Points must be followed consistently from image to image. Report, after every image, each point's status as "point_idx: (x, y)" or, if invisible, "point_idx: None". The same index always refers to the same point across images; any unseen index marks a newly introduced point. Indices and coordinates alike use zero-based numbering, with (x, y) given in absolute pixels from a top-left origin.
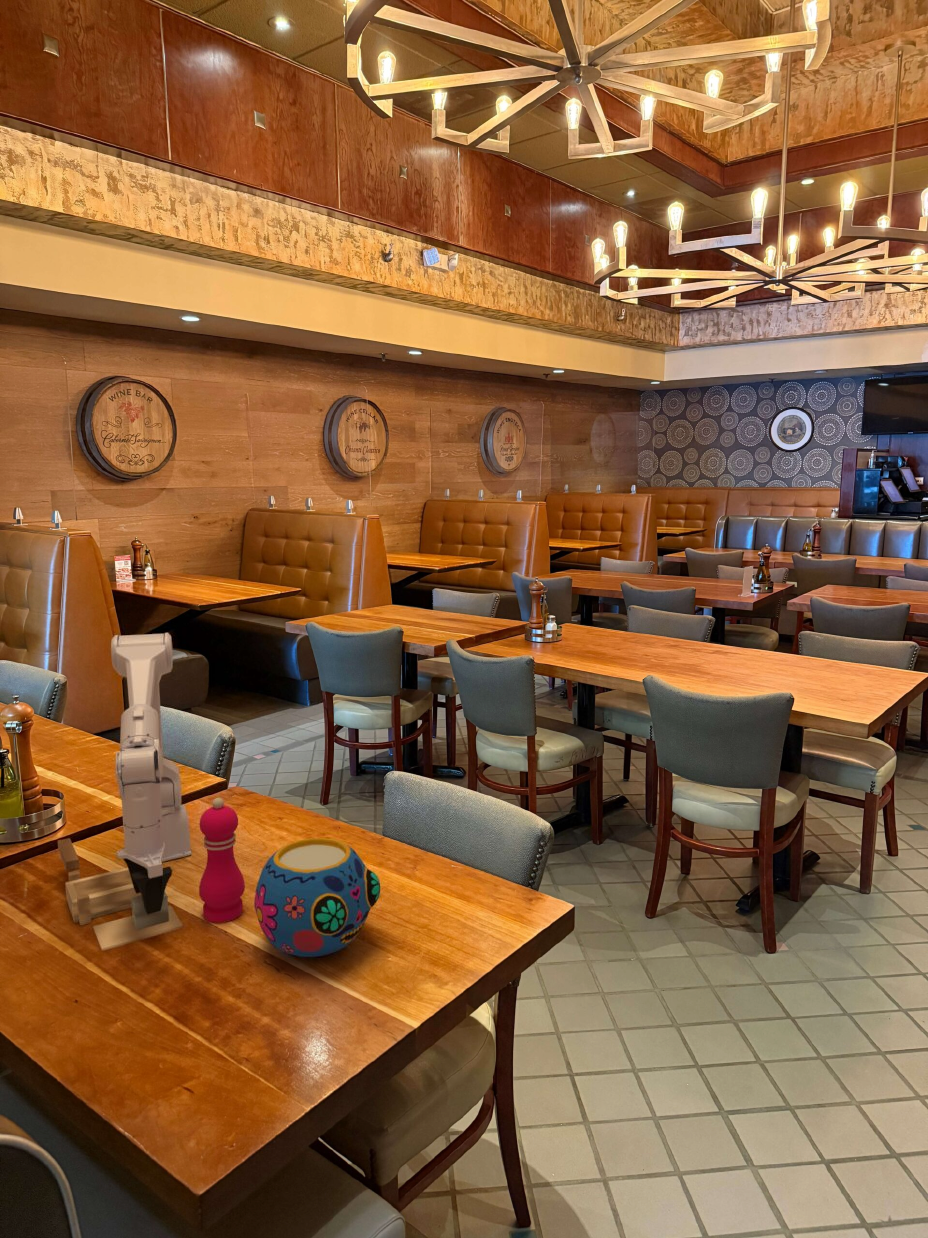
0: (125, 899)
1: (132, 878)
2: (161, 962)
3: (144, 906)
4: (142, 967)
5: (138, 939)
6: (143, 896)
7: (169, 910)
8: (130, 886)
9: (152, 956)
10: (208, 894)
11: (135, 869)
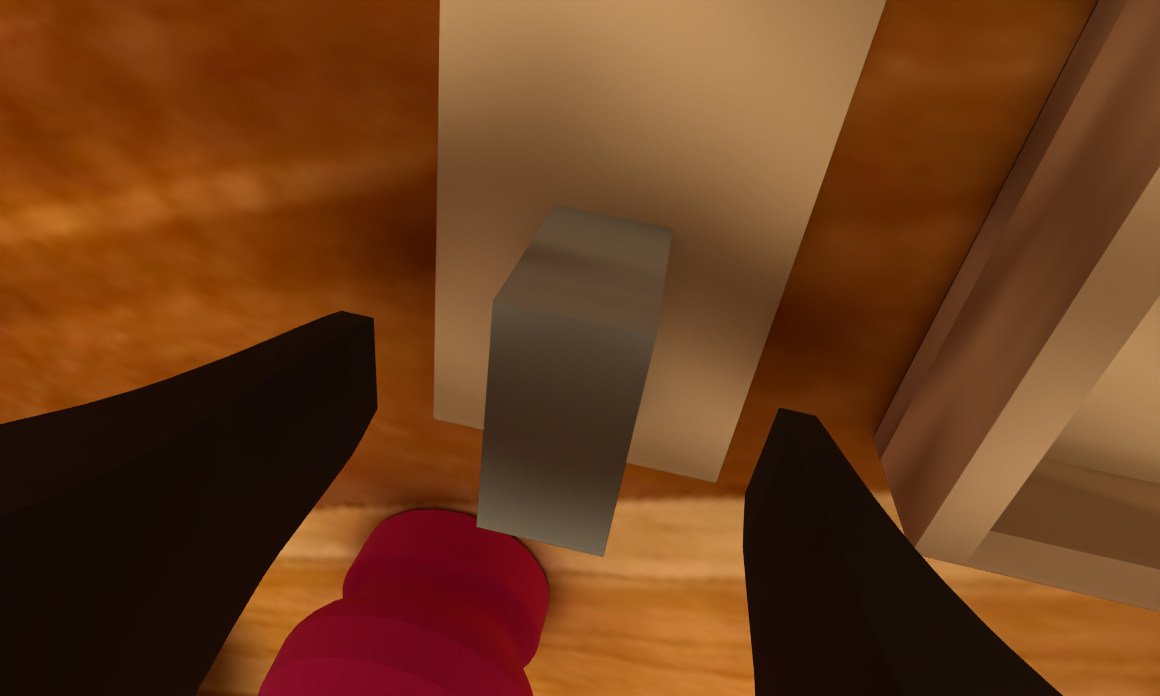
0: (983, 327)
1: (820, 515)
2: (120, 165)
3: (284, 335)
4: (99, 46)
5: (440, 168)
6: (136, 392)
7: (656, 452)
8: (1031, 440)
9: (206, 153)
10: (301, 655)
11: (823, 643)
